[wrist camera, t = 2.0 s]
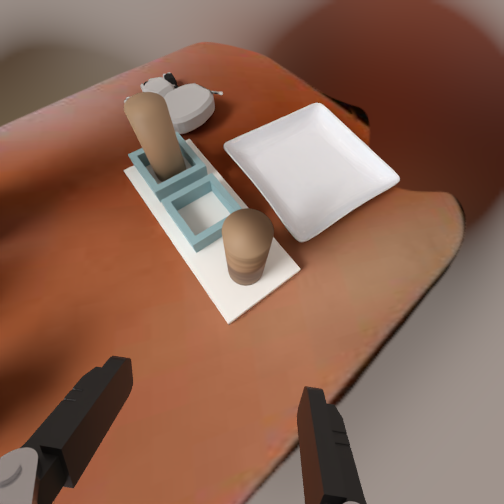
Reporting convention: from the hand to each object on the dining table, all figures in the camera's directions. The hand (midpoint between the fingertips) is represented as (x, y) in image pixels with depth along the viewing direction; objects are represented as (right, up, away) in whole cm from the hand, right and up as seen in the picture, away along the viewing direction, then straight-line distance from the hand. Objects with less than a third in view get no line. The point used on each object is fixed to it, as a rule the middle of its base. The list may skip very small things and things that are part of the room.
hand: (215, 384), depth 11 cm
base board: (-5, +11, +25) cm, 28 cm away
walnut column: (+1, +4, +21) cm, 21 cm away
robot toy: (-13, +32, +34) cm, 49 cm away
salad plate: (+11, +19, +30) cm, 37 cm away
